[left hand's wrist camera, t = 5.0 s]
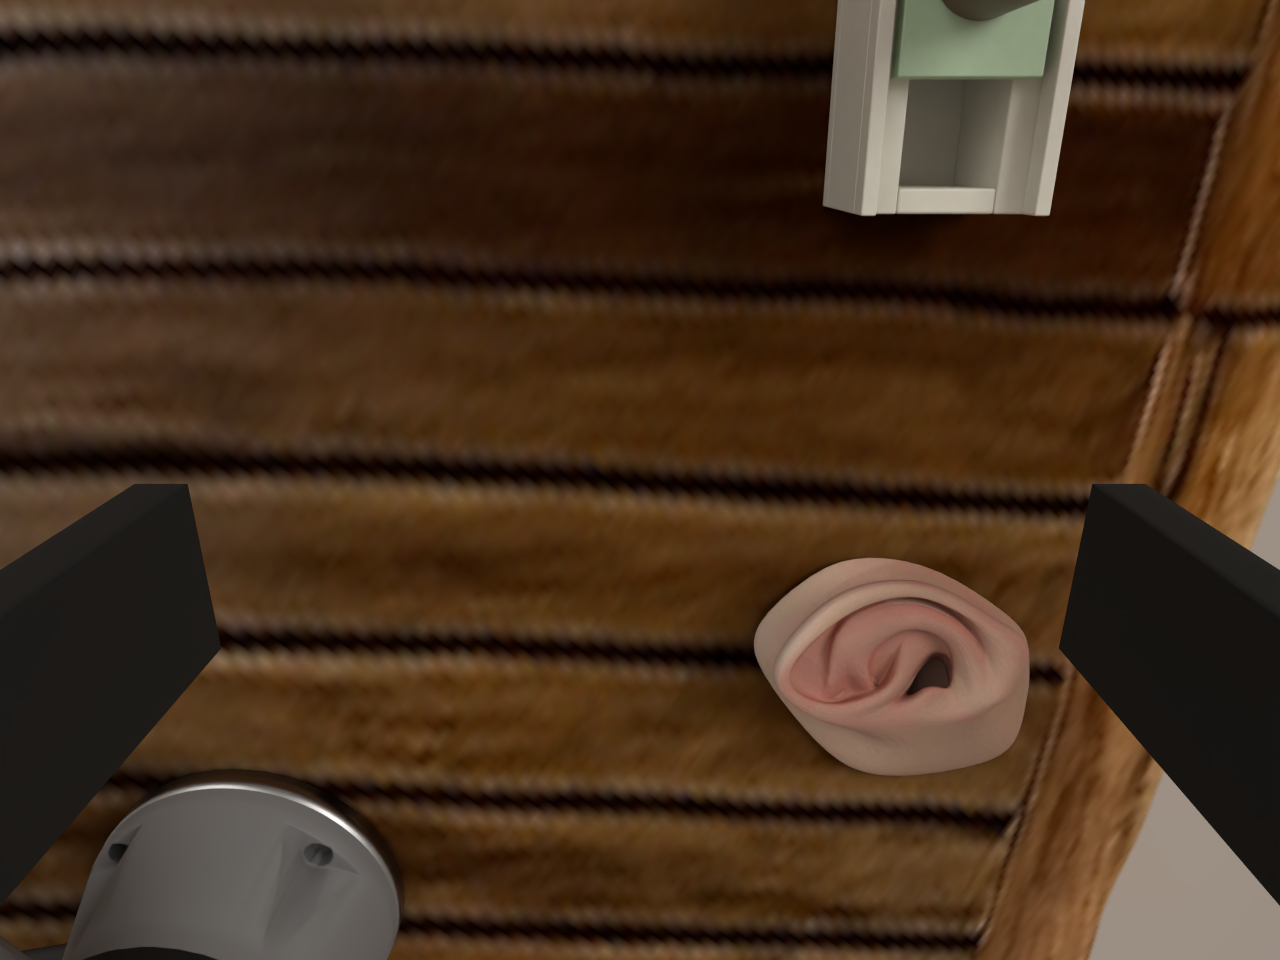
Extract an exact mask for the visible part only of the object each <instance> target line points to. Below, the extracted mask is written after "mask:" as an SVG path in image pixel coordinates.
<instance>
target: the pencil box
mask: <svg viewBox="0 0 1280 960" xmlns="http://www.w3.org/2000/svg"><path fill="white" fill-rule="evenodd" d="M1084 3H1085V0H1055V1H1054V7H1053V14H1052V20H1051V27H1050V33H1049V40H1048V46H1047V53H1046V59H1045V66H1044V72H1043V76H1042V77H1040V78H1035V79H892V67H893V56H894V46H895V35H896V25H897V15H898V4H899V0H838V7H837V20H836V34H835V47H834V61H833V75H832V88H831V102H830V115H829V129H828V142H827V156H826V170H825V183H824V197H823V206H825V207H829V208H833V209H837V210H841V211H845V212H849V213H853V214H857V215H861V216H875V215H876V214H895V213H896V214H991V213H992V214H1025V215H1032V216H1048V215H1049V214H1050V209H1051V203H1052V197H1053V191H1054V185H1055V178H1056V172H1057V166H1058V160H1059V154H1060V148H1061V142H1062V136H1063V130H1064V124H1065V118H1066V112H1067V106H1068V100H1069V94H1070V88H1071V82H1072V76H1073V70H1074V64H1075V58H1076V52H1077V46H1078V40H1079V34H1080V28H1081V21H1082V15H1083V9H1084Z"/></svg>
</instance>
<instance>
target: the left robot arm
mask: <svg viewBox="0 0 1280 960" xmlns="http://www.w3.org/2000/svg"><path fill="white" fill-rule="evenodd" d="M220 649H221V645H220V640H219V635H218V631H217V626H216V621H215V616H214V611H213V606H212V601H211V596H210V591H209V587H208V582H207V577H206V572H205V567H204V562H203V557H202V552H201V547H200V543H199V538H198V533H197V528H196V523H195V518H194V513H193V508H192V503H191V499H190V494H189V489H188V484H134V485H132V486H131V487H129V488H128V489H126V490H125V491H123V492H121V493H120V494H118V495H117V496H115V497H114V498H112V499H111V500H109V501H107V502H106V503H104V504H103V505H101V506H100V507H98V508H97V509H95V510H93V511H92V512H90V513H89V514H87V515H86V516H84V517H82V518H81V519H79V520H78V521H76V522H75V523H73V524H72V525H70V526H68V527H67V528H65V529H64V530H62V531H61V532H59V533H58V534H56V535H54V536H53V537H51V538H50V539H48V540H47V541H45V542H43V543H42V544H40V545H39V546H37V547H36V548H34V549H33V550H31V551H29V552H28V553H26V554H25V555H23V556H22V557H20V558H19V559H17V560H15V561H14V562H12V563H11V564H9V565H8V566H6V567H4V568H3V569H1V570H0V905H1V904H2V903H3V902H4V901H5V899H6V898H7V897H8V896H9V895H10V894H11V892H12V891H13V890H14V889H15V888H16V887H17V885H18V884H19V883H20V882H21V881H22V880H23V878H24V877H25V876H26V875H27V874H28V873H29V871H30V870H31V869H32V868H33V867H34V866H35V865H36V863H37V862H38V861H39V860H40V859H41V858H42V856H43V855H44V854H45V853H46V852H47V851H48V849H49V848H50V847H51V846H52V845H53V844H54V842H55V841H56V840H57V839H58V838H59V837H60V835H61V834H62V833H63V832H64V831H65V830H66V828H67V827H68V826H69V825H70V824H71V823H72V821H73V820H74V819H75V818H76V817H77V816H78V814H79V813H80V812H81V811H82V810H83V809H84V807H85V806H86V805H87V804H88V803H89V802H90V800H91V799H92V798H93V797H94V796H95V795H96V793H97V792H98V791H99V790H100V789H101V788H102V786H103V785H104V784H105V783H106V782H107V781H108V779H109V778H110V777H111V776H112V775H113V774H114V772H115V771H116V770H117V769H118V768H119V767H120V765H121V764H122V763H123V762H124V761H125V760H126V758H127V757H128V756H129V755H130V754H131V753H132V751H133V750H134V749H135V748H136V747H137V746H138V744H139V743H140V742H141V741H142V740H143V739H144V737H145V736H146V735H147V734H148V733H149V732H150V731H151V729H152V728H153V727H154V726H155V725H156V724H157V722H158V721H159V720H160V719H161V718H162V717H163V715H164V714H165V713H166V712H167V711H168V710H169V708H170V707H171V706H172V705H173V704H174V703H175V701H176V700H177V699H178V698H179V697H180V696H181V694H182V693H183V692H184V691H185V690H186V689H187V687H188V686H189V685H190V684H191V683H192V682H193V680H194V679H195V678H196V677H197V676H198V675H199V673H200V672H201V671H202V670H203V669H204V668H205V666H206V665H207V664H208V663H209V662H210V661H211V659H212V658H213V657H214V656H215V655H216V654H217V652H218V651H219V650H220ZM1059 649H1060V650H1061V651H1062V652H1063V654H1064V655H1065V656H1066V657H1067V658H1068V659H1069V661H1070V662H1071V663H1072V664H1073V665H1074V666H1075V668H1076V669H1077V670H1078V671H1079V672H1080V673H1081V675H1082V676H1083V677H1084V678H1085V679H1086V680H1087V682H1088V683H1089V684H1090V685H1091V686H1092V687H1093V689H1094V690H1095V691H1096V692H1097V693H1098V694H1099V696H1100V697H1101V698H1102V699H1103V700H1104V701H1105V703H1106V704H1107V705H1108V706H1109V707H1110V708H1111V710H1112V711H1113V712H1114V713H1115V714H1116V715H1117V717H1118V718H1119V719H1120V720H1121V721H1122V722H1123V724H1124V725H1125V726H1126V727H1127V728H1128V729H1129V731H1130V732H1131V733H1132V734H1133V735H1134V736H1135V737H1136V739H1137V740H1138V741H1139V742H1140V743H1141V744H1142V746H1143V747H1144V748H1145V749H1146V750H1147V751H1148V753H1149V754H1150V755H1151V756H1152V757H1153V758H1154V760H1155V761H1156V762H1157V763H1158V764H1159V765H1160V767H1161V768H1162V769H1163V770H1164V771H1165V772H1166V774H1167V775H1168V776H1169V777H1170V778H1171V779H1172V781H1173V782H1174V783H1175V784H1176V785H1177V786H1178V788H1179V789H1180V790H1181V791H1182V792H1183V793H1184V795H1185V796H1186V797H1187V798H1188V799H1189V800H1190V802H1191V803H1192V804H1193V805H1194V806H1195V807H1196V809H1197V810H1198V811H1199V812H1200V813H1201V814H1202V816H1203V817H1204V818H1205V819H1206V820H1207V821H1208V823H1209V824H1210V825H1211V826H1212V827H1213V828H1214V830H1215V831H1216V832H1217V833H1218V834H1219V835H1220V837H1221V838H1222V839H1223V840H1224V841H1225V842H1226V844H1227V845H1228V846H1229V847H1230V848H1231V849H1232V851H1233V852H1234V853H1235V854H1236V855H1237V856H1238V857H1239V859H1240V860H1241V861H1242V862H1243V863H1244V865H1245V866H1246V867H1247V868H1248V869H1249V870H1250V871H1251V873H1252V874H1253V875H1254V876H1255V877H1256V878H1257V880H1258V881H1259V882H1260V883H1261V884H1262V885H1263V887H1264V888H1265V889H1266V890H1267V891H1268V892H1269V894H1270V895H1271V896H1272V897H1273V898H1274V899H1275V901H1276V902H1277V903H1278V904H1279V905H1280V570H1279V569H1277V568H1276V567H1274V566H1272V565H1271V564H1269V563H1268V562H1266V561H1265V560H1263V559H1261V558H1260V557H1258V556H1257V555H1255V554H1254V553H1252V552H1251V551H1249V550H1247V549H1246V548H1244V547H1243V546H1241V545H1240V544H1238V543H1237V542H1235V541H1233V540H1232V539H1230V538H1229V537H1227V536H1226V535H1224V534H1222V533H1221V532H1219V531H1218V530H1216V529H1215V528H1213V527H1212V526H1210V525H1208V524H1207V523H1205V522H1204V521H1202V520H1201V519H1199V518H1198V517H1196V516H1194V515H1193V514H1191V513H1190V512H1188V511H1187V510H1185V509H1183V508H1182V507H1180V506H1179V505H1177V504H1176V503H1174V502H1173V501H1171V500H1169V499H1168V498H1166V497H1165V496H1163V495H1162V494H1160V493H1159V492H1157V491H1155V490H1154V489H1152V488H1151V487H1149V486H1148V485H1146V484H1092V489H1091V494H1090V499H1089V503H1088V508H1087V513H1086V518H1085V523H1084V528H1083V533H1082V538H1081V543H1080V547H1079V552H1078V557H1077V562H1076V567H1075V572H1074V577H1073V582H1072V587H1071V591H1070V596H1069V601H1068V606H1067V611H1066V616H1065V621H1064V626H1063V631H1062V635H1061V640H1060V645H1059ZM404 899H405V898H404V886H403V881H402V876H401V873H400V870H399V867H398V864H397V862H396V860H395V858H394V856H393V854H392V852H391V850H390V849H389V847H388V845H387V844H386V842H385V841H384V840H383V838H382V837H381V836H380V834H379V833H378V832H377V831H376V830H375V829H374V828H373V826H372V825H371V824H370V823H369V822H368V821H367V820H365V819H364V818H363V817H362V816H361V815H360V814H359V813H357V812H356V811H355V810H354V809H352V808H351V807H350V806H348V805H347V804H345V803H344V802H342V801H341V800H339V799H338V798H336V797H334V796H332V795H330V794H329V793H327V792H325V791H323V790H321V789H319V788H316V787H314V786H312V785H310V784H307V783H304V782H301V781H299V780H296V779H293V778H289V777H285V776H282V775H277V774H272V773H267V772H261V771H252V770H215V771H207V772H201V773H196V774H192V775H188V776H185V777H182V778H178V779H175V780H173V781H171V782H168V783H166V784H164V785H162V786H160V787H158V788H156V789H155V790H153V791H151V792H150V793H149V794H147V795H146V796H144V797H143V798H142V799H141V800H139V801H138V802H137V803H136V804H135V805H134V806H133V807H132V808H131V809H130V811H129V812H128V813H127V814H126V815H125V816H124V818H123V819H122V820H121V822H120V823H119V824H118V825H117V827H116V828H115V829H114V830H113V832H112V833H111V835H110V836H109V838H108V839H107V841H106V842H105V844H104V846H103V848H102V850H101V851H100V853H99V855H98V857H97V859H96V861H95V863H94V865H93V867H92V870H91V873H90V876H89V879H88V882H87V885H86V888H85V891H84V894H83V897H82V900H81V903H80V906H79V909H78V912H77V916H76V919H75V922H74V925H73V928H72V931H71V934H70V937H69V940H68V943H66V944H61V945H55V946H50V947H44V948H38V949H32V950H26V951H20V950H18V949H17V948H16V947H14V946H13V945H12V944H10V943H9V942H8V941H6V940H5V939H4V938H2V937H1V936H0V960H387V959H388V957H389V955H390V953H391V951H392V948H393V945H394V942H395V939H396V936H397V933H398V930H399V927H400V924H401V920H402V916H403V911H404Z"/></svg>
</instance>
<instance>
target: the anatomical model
mask: <svg viewBox="0 0 1280 960" xmlns="http://www.w3.org/2000/svg"><path fill="white" fill-rule="evenodd" d="M754 651H755V655H756V658H757V661H758V663H759V665H760V667H761V669H762V671H763V673H764V675H765V676H766V678H767V679H768V681H769V683H770V684H771V686H772V687H773V689H774V690H775V692H776V693H777V694H778V696H779V697H780V699H781V700H782V701H783V702H784V704H785V705H786V706H787V708H788V709H789V710H790V711H791V713H792V714H793V715H794V716H795V718H796V719H797V720H798V721H799V722H800V724H801V725H802V726H803V727H804V728H805V729H806V731H807V732H808V733H809V734H810V735H811V736H812V737H813V738H814V739H815V740H816V741H817V742H818V743H819V744H820V745H821V746H822V747H823V748H824V749H825V750H826V751H827V752H829V753H830V754H831V755H833V756H834V757H835V758H836V759H838V760H839V761H841V762H842V763H844V764H846V765H848V766H850V767H852V768H854V769H857V770H860V771H863V772H867V773H871V774H877V775H892V776H907V775H922V774H929V773H936V772H944V771H949V770H954V769H959V768H964V767H968V766H972V765H976V764H979V763H982V762H985V761H988V760H991V759H993V758H995V757H997V756H999V755H1001V754H1002V753H1003V752H1005V751H1006V750H1007V749H1008V748H1009V747H1010V746H1011V745H1012V744H1013V742H1014V741H1015V739H1016V737H1017V735H1018V733H1019V730H1020V727H1021V724H1022V720H1023V715H1024V710H1025V705H1026V699H1027V693H1028V688H1029V650H1028V644H1027V640H1026V637H1025V635H1024V633H1023V631H1022V630H1021V629H1020V627H1019V626H1018V625H1017V624H1016V623H1015V622H1014V621H1013V620H1012V619H1011V618H1010V617H1009V616H1008V615H1006V614H1005V613H1004V612H1002V611H1001V610H1000V609H998V608H997V607H996V606H995V605H993V604H992V603H990V602H989V601H987V600H986V599H985V598H983V597H982V596H980V595H979V594H977V593H976V592H974V591H973V590H971V589H969V588H968V587H966V586H964V585H963V584H961V583H959V582H957V581H955V580H954V579H952V578H950V577H948V576H946V575H944V574H942V573H940V572H937V571H934V570H932V569H929V568H927V567H924V566H921V565H918V564H914V563H910V562H906V561H900V560H894V559H885V558H861V559H852V560H847V561H843V562H839V563H836V564H834V565H831V566H829V567H827V568H824V569H823V570H821V571H819V572H817V573H816V574H814V575H812V576H810V577H809V578H808V579H806V580H805V581H803V582H802V583H801V584H799V585H798V586H797V587H795V588H794V589H793V590H791V591H790V592H789V593H788V594H787V595H786V596H784V597H783V598H782V599H781V600H780V601H779V602H778V603H777V604H776V605H775V606H774V607H773V608H772V609H771V610H770V611H769V612H768V613H767V615H766V616H765V617H764V619H763V620H762V621H761V623H760V625H759V627H758V629H757V631H756V634H755V639H754Z"/></svg>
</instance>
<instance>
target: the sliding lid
mask: <svg viewBox="0 0 1280 960" xmlns="http://www.w3.org/2000/svg"><path fill="white" fill-rule="evenodd" d="M1054 1H1055V0H899V4H898V15H897V25H896V35H895V46H894V56H893V67H892V79H1035V78H1040V77H1042V76H1043V72H1044V66H1045V59H1046V53H1047V46H1048V40H1049V33H1050V27H1051V20H1052V14H1053V7H1054Z"/></svg>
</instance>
